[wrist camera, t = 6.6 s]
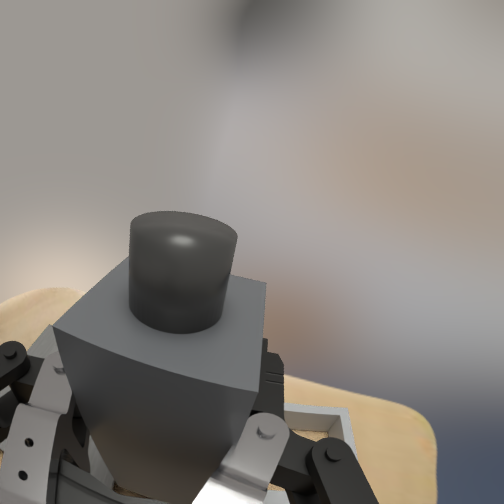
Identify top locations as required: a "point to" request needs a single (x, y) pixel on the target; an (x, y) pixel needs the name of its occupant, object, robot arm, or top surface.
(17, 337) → the top surface
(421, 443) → the top surface
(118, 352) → the plug
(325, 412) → the grey rectangular frame
